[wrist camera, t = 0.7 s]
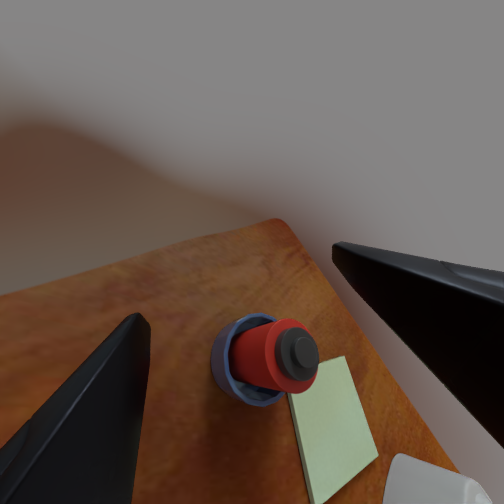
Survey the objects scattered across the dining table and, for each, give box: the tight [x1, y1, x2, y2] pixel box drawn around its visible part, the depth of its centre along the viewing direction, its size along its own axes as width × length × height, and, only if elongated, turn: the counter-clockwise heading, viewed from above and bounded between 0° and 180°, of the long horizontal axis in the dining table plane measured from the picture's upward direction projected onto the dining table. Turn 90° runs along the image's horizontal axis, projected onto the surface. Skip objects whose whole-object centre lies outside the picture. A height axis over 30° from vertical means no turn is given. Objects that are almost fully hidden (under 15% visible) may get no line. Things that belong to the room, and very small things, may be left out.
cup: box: [211, 313, 285, 407], centre depth 20 cm, size 8×8×4 cm
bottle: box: [228, 319, 319, 394], centre depth 17 cm, size 5×5×10 cm
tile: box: [287, 356, 378, 504], centre depth 23 cm, size 11×11×1 cm
